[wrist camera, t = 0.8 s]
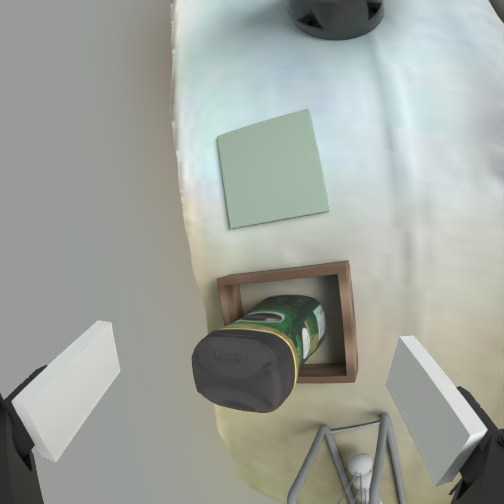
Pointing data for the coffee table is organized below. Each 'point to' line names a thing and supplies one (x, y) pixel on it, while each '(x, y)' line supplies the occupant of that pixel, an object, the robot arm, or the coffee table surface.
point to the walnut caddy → (230, 283)
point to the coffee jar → (259, 354)
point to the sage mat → (272, 171)
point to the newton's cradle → (356, 465)
